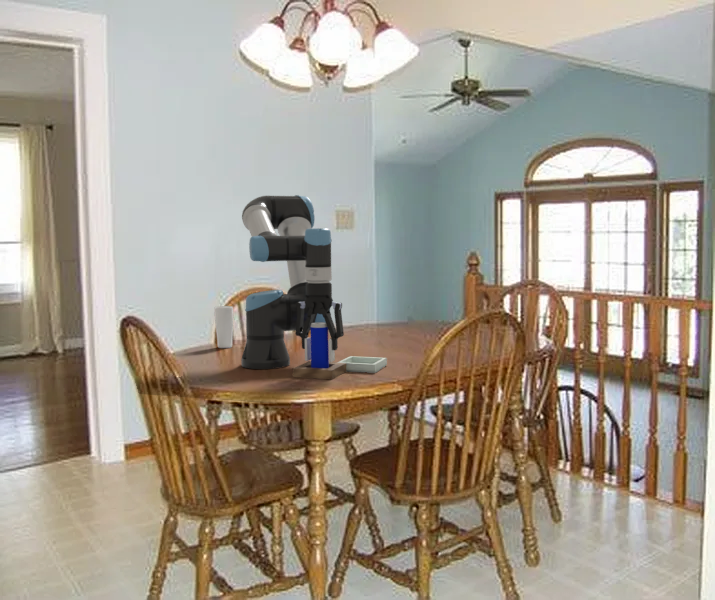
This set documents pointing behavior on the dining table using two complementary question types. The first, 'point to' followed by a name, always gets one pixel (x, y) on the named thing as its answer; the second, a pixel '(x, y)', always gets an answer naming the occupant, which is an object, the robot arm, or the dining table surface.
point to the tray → (364, 364)
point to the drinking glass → (224, 326)
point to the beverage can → (319, 345)
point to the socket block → (319, 371)
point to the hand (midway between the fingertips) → (319, 360)
